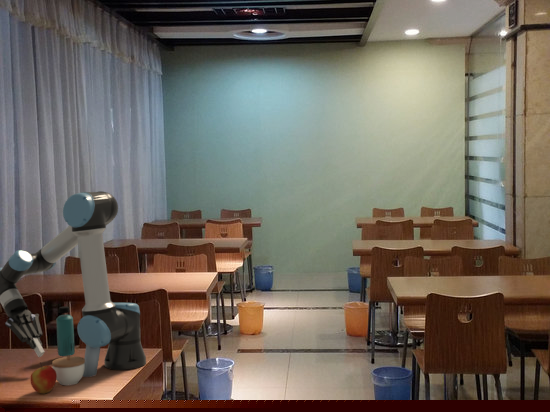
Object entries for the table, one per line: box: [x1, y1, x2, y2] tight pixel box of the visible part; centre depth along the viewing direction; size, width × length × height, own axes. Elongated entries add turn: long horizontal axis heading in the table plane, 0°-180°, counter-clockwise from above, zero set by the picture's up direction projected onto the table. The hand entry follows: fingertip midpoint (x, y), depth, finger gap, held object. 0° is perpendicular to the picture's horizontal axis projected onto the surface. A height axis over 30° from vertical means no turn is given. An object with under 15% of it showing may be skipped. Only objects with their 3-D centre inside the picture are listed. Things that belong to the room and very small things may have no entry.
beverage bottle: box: [55, 306, 76, 357], centre depth 281 cm, size 6×7×20 cm
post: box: [82, 344, 102, 378], centre depth 257 cm, size 5×5×12 cm
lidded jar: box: [51, 355, 85, 386], centre depth 248 cm, size 11×11×9 cm
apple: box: [30, 362, 57, 394], centre depth 238 cm, size 8×8×10 cm
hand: (41, 354), depth 259 cm, fingers closed
